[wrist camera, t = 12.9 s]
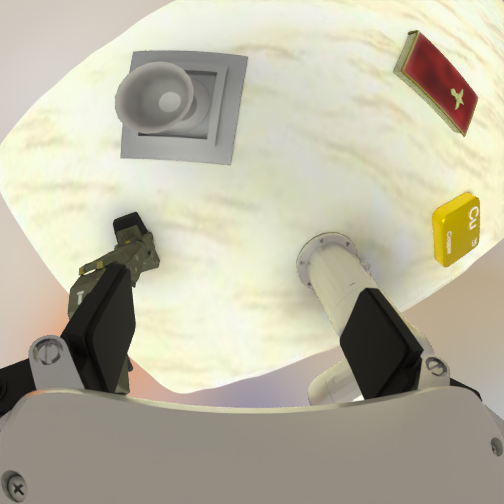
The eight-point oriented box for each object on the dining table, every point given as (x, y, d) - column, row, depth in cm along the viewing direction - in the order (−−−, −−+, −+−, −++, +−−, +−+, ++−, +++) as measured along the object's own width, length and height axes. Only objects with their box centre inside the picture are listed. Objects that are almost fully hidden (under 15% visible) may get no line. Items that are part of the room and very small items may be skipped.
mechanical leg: (99, 205, 41) (40, 367, 19) (133, 191, 41) (86, 363, 19) (133, 260, 50) (115, 411, 28) (165, 251, 50) (159, 408, 28)
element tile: (429, 211, 51) (442, 219, 46) (468, 189, 49) (481, 195, 45) (433, 262, 58) (444, 271, 53) (469, 237, 56) (480, 245, 52)
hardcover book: (407, 32, 32) (420, 29, 28) (467, 95, 38) (479, 96, 34) (389, 72, 36) (402, 71, 32) (452, 133, 42) (465, 137, 39)
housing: (247, 58, 34) (250, 50, 29) (230, 164, 42) (231, 169, 37) (135, 53, 31) (125, 46, 26) (122, 157, 39) (111, 162, 34)
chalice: (160, 131, 37) (120, 142, 21) (154, 90, 33) (110, 74, 18) (207, 122, 37) (198, 124, 21) (201, 80, 34) (189, 53, 18)
